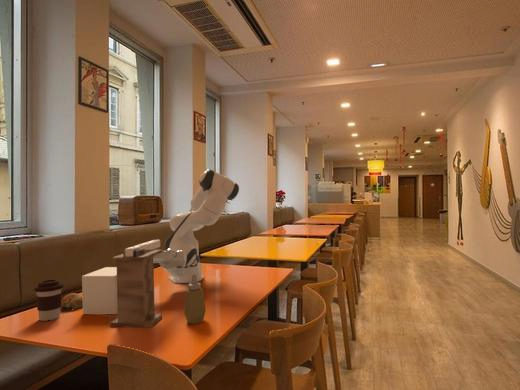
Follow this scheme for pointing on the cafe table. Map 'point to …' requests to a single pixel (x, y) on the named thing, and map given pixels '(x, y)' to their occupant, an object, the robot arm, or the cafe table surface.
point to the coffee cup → (49, 299)
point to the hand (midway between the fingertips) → (159, 250)
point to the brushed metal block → (142, 247)
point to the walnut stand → (136, 290)
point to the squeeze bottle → (194, 302)
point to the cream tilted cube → (100, 291)
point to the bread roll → (71, 302)
